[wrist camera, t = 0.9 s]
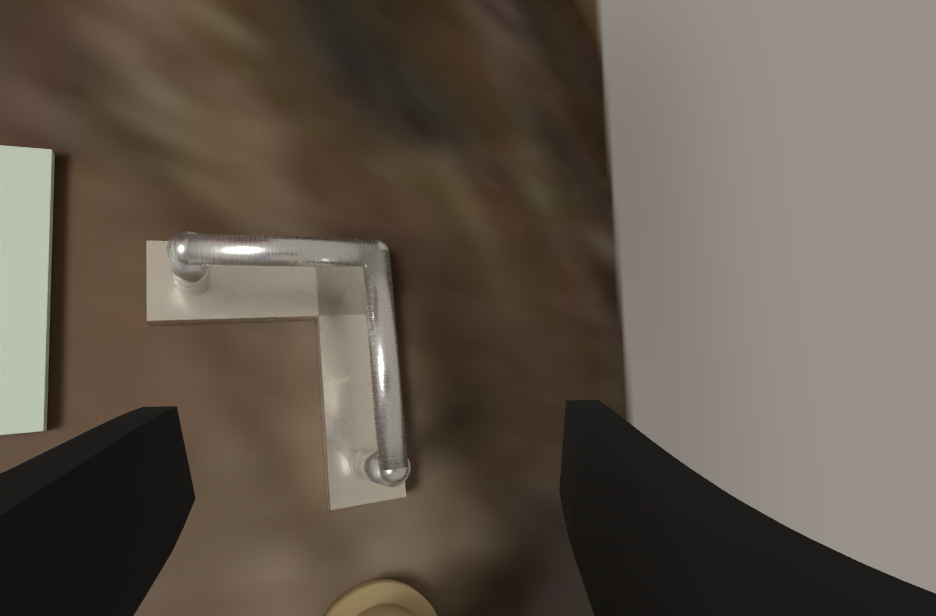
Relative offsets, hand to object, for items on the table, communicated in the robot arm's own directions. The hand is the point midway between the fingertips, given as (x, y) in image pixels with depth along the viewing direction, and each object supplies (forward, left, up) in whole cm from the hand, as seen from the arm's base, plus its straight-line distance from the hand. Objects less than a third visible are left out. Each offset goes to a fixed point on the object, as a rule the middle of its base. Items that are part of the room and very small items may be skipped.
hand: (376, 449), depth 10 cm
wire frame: (+3, 0, -13) cm, 13 cm away
